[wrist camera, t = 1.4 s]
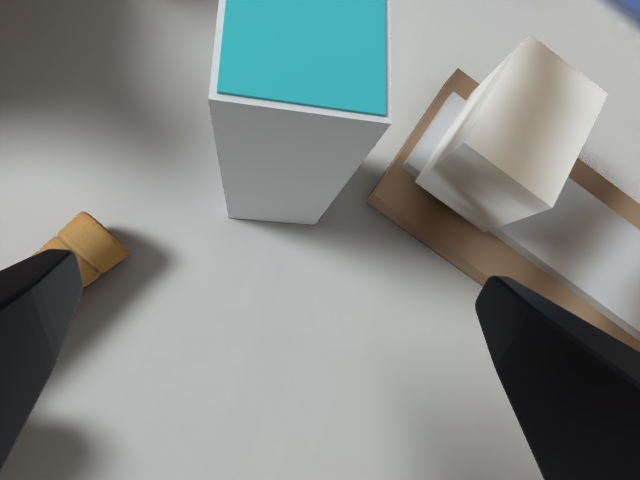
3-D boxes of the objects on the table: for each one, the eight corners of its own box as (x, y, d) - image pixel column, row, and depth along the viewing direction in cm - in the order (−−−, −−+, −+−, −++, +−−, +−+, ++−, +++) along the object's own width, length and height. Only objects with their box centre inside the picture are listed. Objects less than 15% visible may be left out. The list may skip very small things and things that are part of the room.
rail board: (720, 286, 27) (886, 275, 20) (677, 426, 24) (855, 472, 17) (446, 81, 26) (520, -6, 19) (365, 201, 23) (418, 151, 16)
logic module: (314, 224, 22) (392, 122, 10) (228, 217, 21) (207, 96, 9) (317, 147, 23) (390, -26, 11) (235, 137, 22) (224, -62, 11)
